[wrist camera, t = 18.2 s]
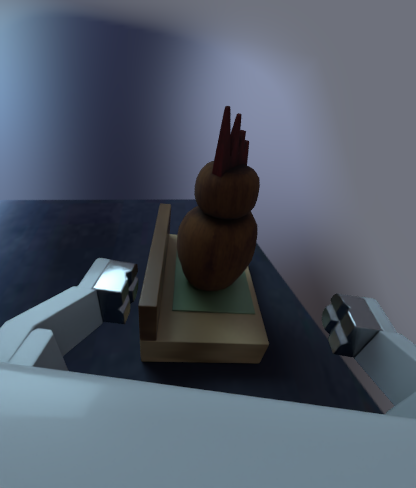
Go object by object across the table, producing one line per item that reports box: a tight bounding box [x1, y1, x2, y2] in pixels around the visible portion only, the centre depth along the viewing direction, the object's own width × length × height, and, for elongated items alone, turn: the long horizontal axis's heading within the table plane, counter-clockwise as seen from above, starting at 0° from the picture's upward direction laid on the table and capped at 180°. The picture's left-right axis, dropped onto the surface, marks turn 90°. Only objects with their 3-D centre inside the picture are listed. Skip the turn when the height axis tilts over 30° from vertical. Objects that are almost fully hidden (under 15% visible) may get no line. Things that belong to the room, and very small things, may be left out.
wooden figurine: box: [177, 106, 260, 291], centre depth 20 cm, size 7×6×15 cm
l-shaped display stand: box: [138, 204, 269, 363], centre depth 24 cm, size 10×14×7 cm
